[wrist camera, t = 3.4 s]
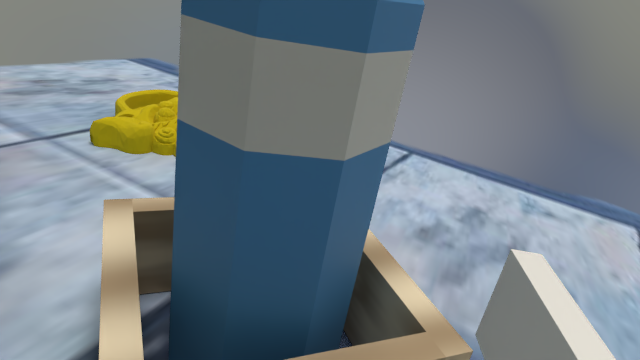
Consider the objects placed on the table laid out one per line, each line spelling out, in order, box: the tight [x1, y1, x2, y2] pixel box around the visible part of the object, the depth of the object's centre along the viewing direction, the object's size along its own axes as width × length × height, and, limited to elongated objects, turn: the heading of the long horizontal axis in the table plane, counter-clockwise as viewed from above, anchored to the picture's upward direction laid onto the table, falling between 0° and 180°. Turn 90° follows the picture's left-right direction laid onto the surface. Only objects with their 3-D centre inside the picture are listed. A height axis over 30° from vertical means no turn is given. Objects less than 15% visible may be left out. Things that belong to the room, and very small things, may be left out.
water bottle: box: [169, 0, 424, 360], centre depth 20 cm, size 9×9×25 cm
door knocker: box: [90, 90, 178, 156], centre depth 53 cm, size 16×16×4 cm
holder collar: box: [99, 197, 473, 360], centre depth 24 cm, size 15×15×6 cm
